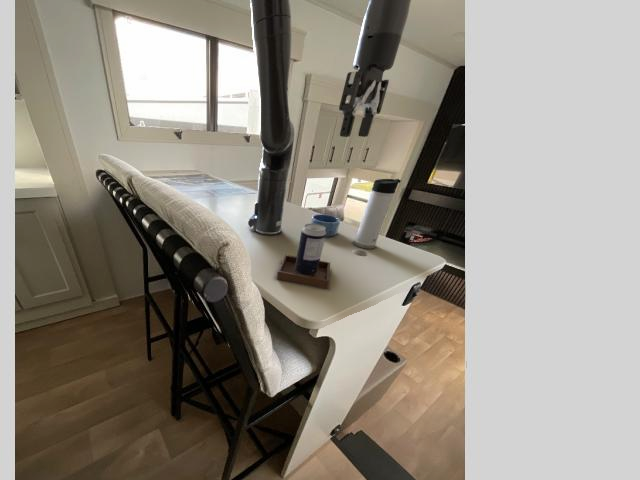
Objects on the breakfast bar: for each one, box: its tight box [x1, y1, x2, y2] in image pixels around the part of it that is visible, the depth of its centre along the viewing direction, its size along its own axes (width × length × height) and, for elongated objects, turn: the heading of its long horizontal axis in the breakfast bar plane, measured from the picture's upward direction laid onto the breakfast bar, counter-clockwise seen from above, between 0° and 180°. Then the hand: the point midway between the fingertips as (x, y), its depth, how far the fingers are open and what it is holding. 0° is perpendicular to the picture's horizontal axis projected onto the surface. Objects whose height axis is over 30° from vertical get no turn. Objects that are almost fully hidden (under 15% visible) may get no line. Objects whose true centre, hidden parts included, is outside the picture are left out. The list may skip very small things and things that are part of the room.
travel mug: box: [353, 178, 402, 250], centre depth 76 cm, size 6×7×20 cm
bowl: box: [310, 213, 341, 238], centre depth 89 cm, size 9×9×5 cm
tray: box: [276, 254, 331, 289], centre depth 65 cm, size 12×10×2 cm
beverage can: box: [295, 222, 327, 276], centre depth 61 cm, size 6×6×12 cm
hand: (353, 136), depth 57 cm, fingers open, 8 cm apart
